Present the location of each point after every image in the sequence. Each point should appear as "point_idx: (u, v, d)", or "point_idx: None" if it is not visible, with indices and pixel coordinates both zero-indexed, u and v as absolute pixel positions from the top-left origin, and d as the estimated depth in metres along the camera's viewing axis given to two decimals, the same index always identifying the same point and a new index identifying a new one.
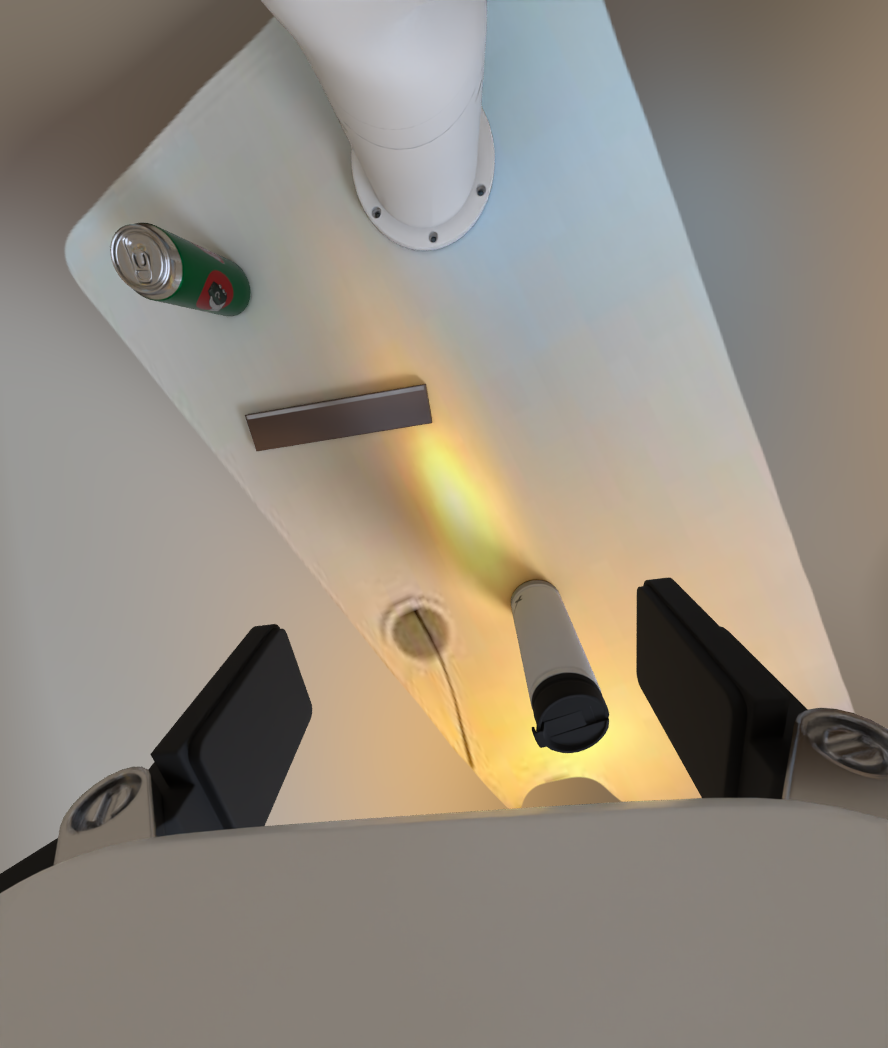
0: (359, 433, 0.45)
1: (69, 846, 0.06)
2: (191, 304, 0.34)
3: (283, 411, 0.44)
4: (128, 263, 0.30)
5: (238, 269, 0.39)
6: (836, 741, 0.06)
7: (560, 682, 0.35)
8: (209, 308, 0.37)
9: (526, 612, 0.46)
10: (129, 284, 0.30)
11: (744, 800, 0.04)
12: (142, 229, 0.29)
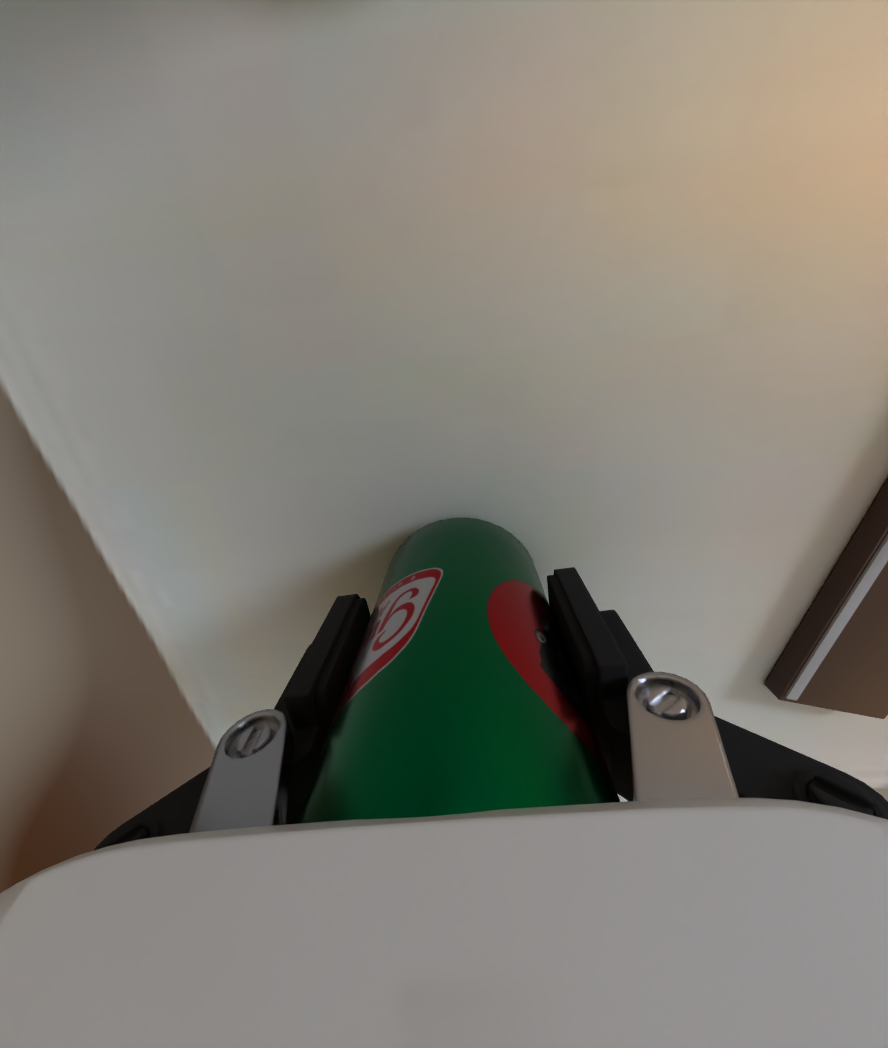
0: None
1: (232, 769, 0.07)
2: None
3: (852, 598, 0.13)
4: None
5: (443, 530, 0.12)
6: (656, 700, 0.07)
7: None
8: None
9: None
10: None
11: (744, 800, 0.04)
12: None
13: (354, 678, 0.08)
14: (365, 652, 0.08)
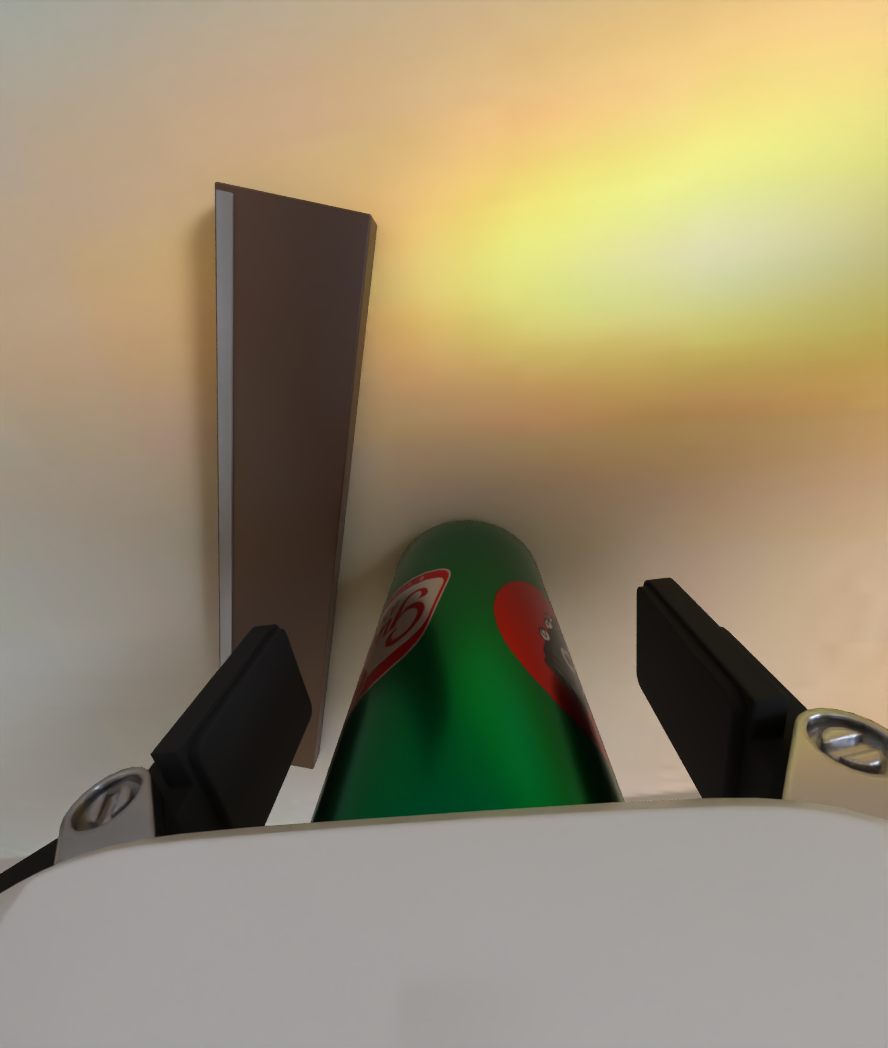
0: (336, 507, 0.13)
1: (69, 846, 0.06)
2: None
3: None
4: None
5: (450, 532, 0.13)
6: (836, 741, 0.06)
7: None
8: None
9: None
10: None
11: (744, 800, 0.04)
12: None
13: (368, 672, 0.08)
14: (378, 648, 0.09)
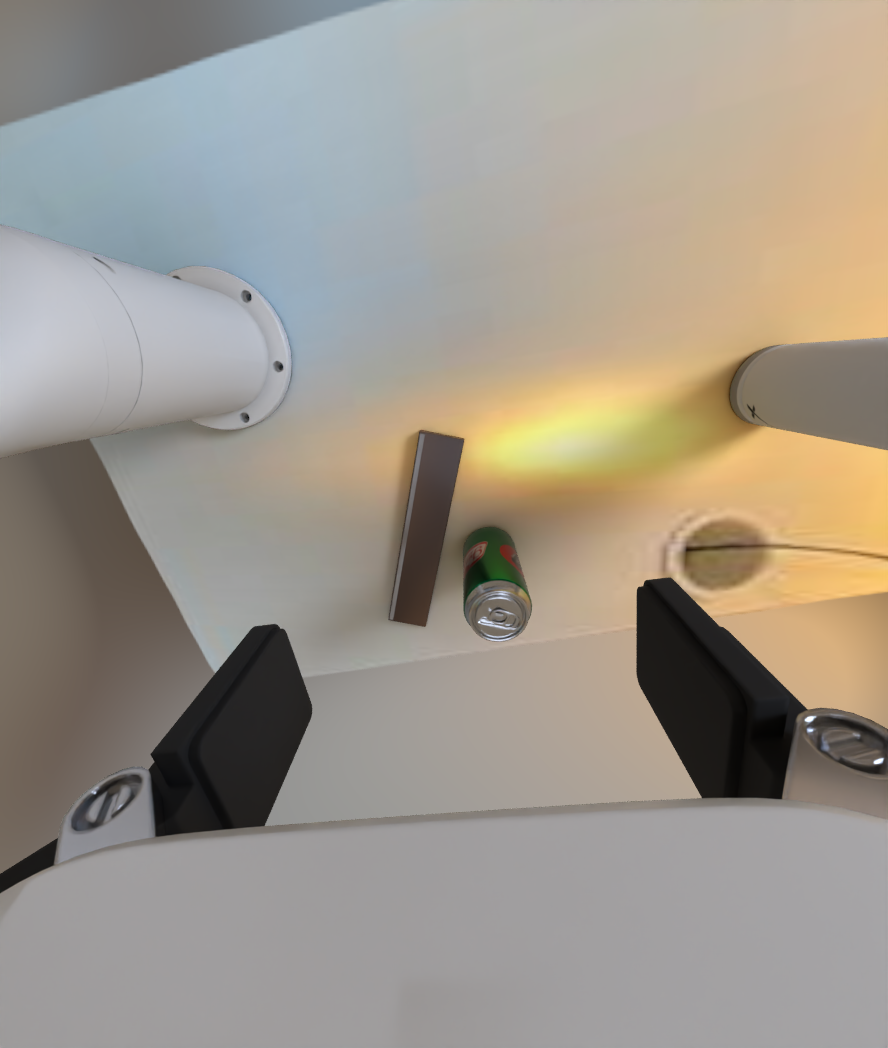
0: (445, 522, 0.39)
1: (69, 846, 0.06)
2: None
3: (396, 584, 0.42)
4: (496, 628, 0.30)
5: (484, 531, 0.38)
6: (836, 741, 0.06)
7: None
8: None
9: (782, 407, 0.29)
10: (512, 637, 0.30)
11: (744, 800, 0.04)
12: (478, 601, 0.29)
13: (470, 564, 0.34)
14: (470, 560, 0.34)
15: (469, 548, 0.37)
